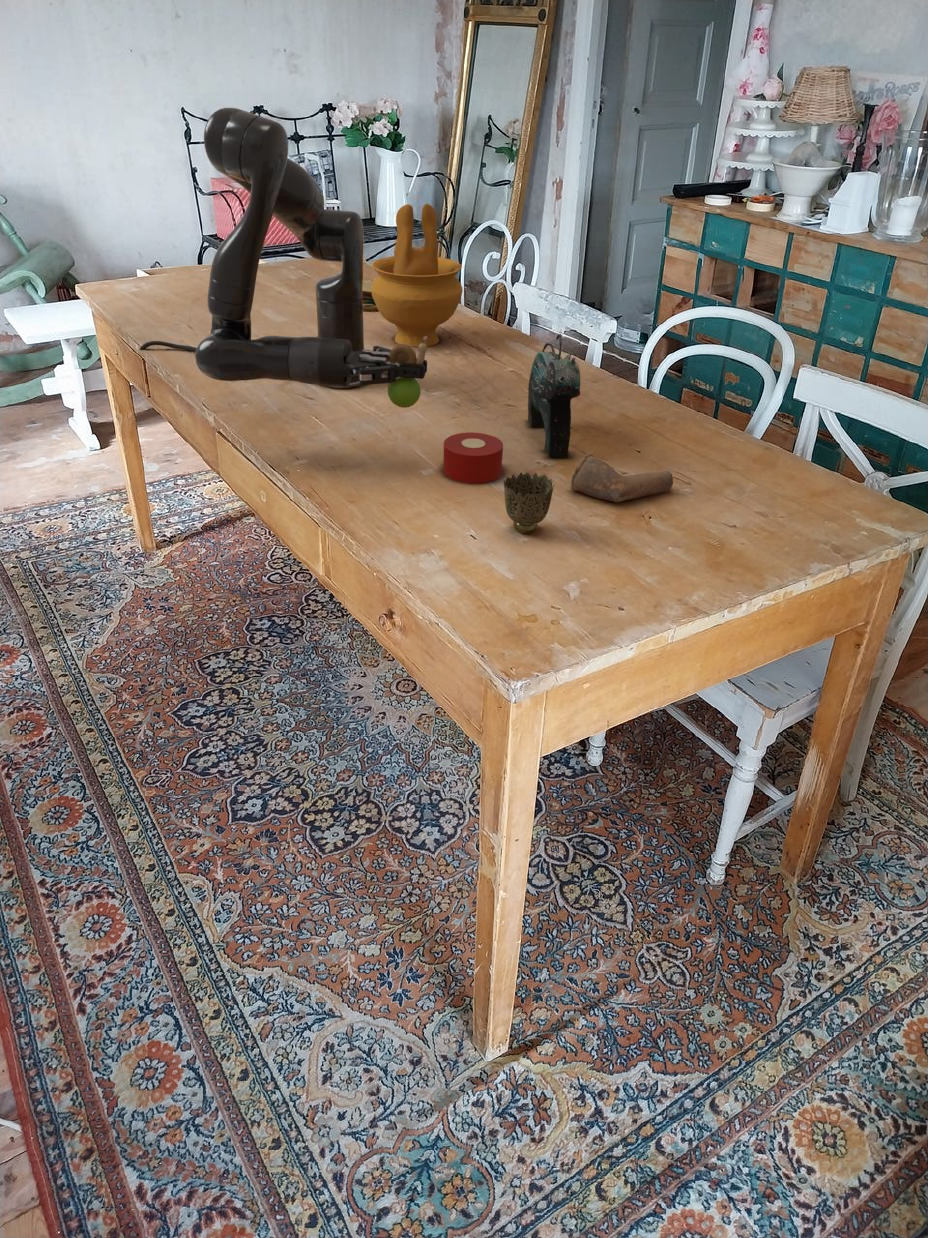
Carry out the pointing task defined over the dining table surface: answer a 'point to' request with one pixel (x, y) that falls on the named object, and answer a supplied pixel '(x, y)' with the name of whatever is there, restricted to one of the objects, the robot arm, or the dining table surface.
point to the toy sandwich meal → (368, 297)
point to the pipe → (617, 481)
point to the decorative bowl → (416, 282)
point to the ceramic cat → (553, 398)
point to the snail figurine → (406, 389)
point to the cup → (527, 500)
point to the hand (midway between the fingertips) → (425, 369)
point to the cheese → (472, 457)
